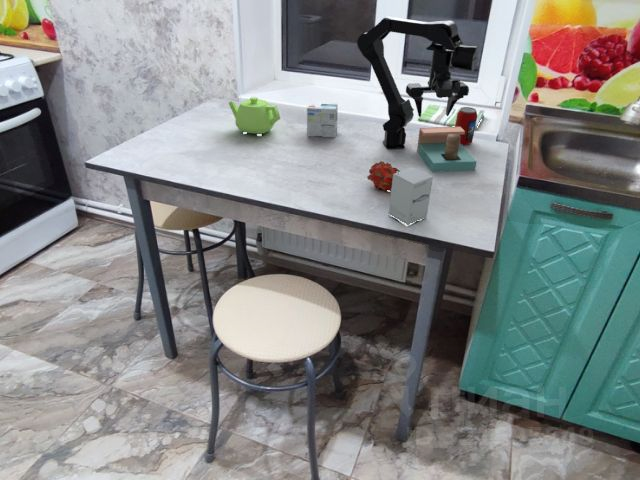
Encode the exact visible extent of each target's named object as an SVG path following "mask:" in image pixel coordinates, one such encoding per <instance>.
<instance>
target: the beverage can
mask: <svg viewBox="0 0 640 480" xmlns="http://www.w3.org/2000/svg"><path fill="white" fill-rule="evenodd" d="M459 109H460V110H459V112H458V113H457V118H456V124H455V127H459V126H460V127H461V128H462V129H463V130H464V131H465V134H460V136H461V139H460V144H461V145H462V146H468V145H470V144H471V143H473V140H474V136H475V131H476V130H475V126H476V120H477V112H476V111H477V109H476V108H473V107H470V106H463V107H460V108H459Z"/></svg>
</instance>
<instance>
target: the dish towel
mask: <svg viewBox="0 0 640 480" xmlns="http://www.w3.org/2000/svg"><path fill="white" fill-rule="evenodd" d="M446 109H447V105H435V104H429V105H427V107H426V109H425V110H424V111H423V112H421V117H419V116H418V119H417V121H418V120H419V121H418V122H422V121H425V122H424V123H428V122H431V123H430V124H433V123H437V124H436V125H438V124H444V125H443V126H445V125H450V126H455V124H456V118H457V113H458V112H459V110H460V108H454V107H453V108H452V110H451V112H450V114H449V116H446ZM476 112H477V120H476V126H475V129H477V126H478V123H479V122H480V120H481V119H483V120H484V118H485V115H484V113H485V110H484V109H483V110H482V109H480V110H477V109H476ZM450 126H449V127H450ZM477 130H478V129H477Z"/></svg>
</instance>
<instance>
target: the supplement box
mask: <svg viewBox="0 0 640 480" xmlns="http://www.w3.org/2000/svg"><path fill="white" fill-rule="evenodd" d="M399 171H400V172H398V171H397V173H395V174H393V180H392V189H390V190H391V192H390V199H389V208H388V215H389V214H390V215H392V216H394V217H395V218H397V219H399V220H400V221H402V222H404V223H406V224H407V225H409V224H410V223H413V222H415V221H417V220H420V219H423V218H426V219H427V217H428V212H429V211H428V210H429V204H430V198H431V194H432V193H431V192H432V186H433V178H434V176H433V175H431V174H429V173H427V172H424V171H422V170H421V169H418V168H416V167H414V166H412V167H409V168H406V169H403V170H399Z"/></svg>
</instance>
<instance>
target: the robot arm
mask: <svg viewBox="0 0 640 480" xmlns="http://www.w3.org/2000/svg"><path fill="white" fill-rule="evenodd" d="M458 32H459V29H458V26H457V24H456V22H455V21H453V20H439V21H438V20H437V21H424V20H423V21H422V20H414V19H409V18H401V17H395V16H392V15H389V16H385V17H383V18H382V19H381V20H380V21H379V22H378V23H377V24H376V25H375V26H373V27H372V28H371V29H369V30H368V31H367V32H364V33H362V34H359V36H358V38H357V42H356V46H357V48H358V50H359V52H360V53H361V55H362V56H363V58H364V59H366V60H367V61H368V62H369V63H370V65H371V67H372V69H373V72H374V74H375V76H376V78H377V81H378V84H379V86H380V88H381V90H382V93H383V95H384V98H385V100H386V102H387V114H388V117H389V118H388V120H387V121H385V122H384V123H383V124H382V128H383V131H384V138H383V140H382V143H383V145H384V148H385V149H387V150H390V149H391V150H392V149H393V150H394V149H405V147H406V146H405V144H406V137H407V133H406V129H405V127H407V126H408V124H409V123H411V121H412V120H413V119H414V111H415V109H414V108H413V106H412V104H411V101H410V98H412V99H413V100H414V104H415V107H416V111H417V115H418V118H419V117H421V114H422V113H423V112H422V109H423V107H422V106H423V100H424V96H423V95H424V94H427V93H428V94H430V93H431V94H432V93H434V94H435V95H436V97H437V98H438V99H442V98H447V103H446V107H447V109H446V116H449V114H450V112H451V110H452V108H454V107H455V104H456V103H457V102H458V101H459V100H460V99H463V98H464V97H465V96H466V97H467V96H469V93H470V88H469V86H468V84H466V83H465V82H463V81H461V80H460V79H451V78H452V77H451V76H452V75H451V73H452V72H451V71H450V69H451V67H453V69H455V70H461V71H467V72H474V71H475V69H476V67H477V65H478V62H479V52H478V49H479V47H478V46H476V45H472V46H471V45H464V44H463V43H464V42H463V41H462V39H461V37H460V35H459V33H458ZM390 33H397V34H404V35H410V36H416V37H421V38H424V39H426V40H428V41H429V42H431V43H430V44H429V45H428V46H427V47H426V50H427V51H432V57H431V63H430V67H429V78H428V79H429V80H427V86H425V85H424V86H422V84H420V83H417V82H416V83H407V85H406V87H405V93H406V94H407V95H408V96H409V97H410V98H409V99H406V100H405V99H404V98H403V97H402V95H401V93H400V91H399V88H398V86H397V83H396V82H395V79H394V77H393V74H392V73H391V70H390V67H389V65H388V63H387V60H386V58H385V45H384V42H383V40H384V39H385V38H386V37H388V35H389V34H390Z"/></svg>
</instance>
